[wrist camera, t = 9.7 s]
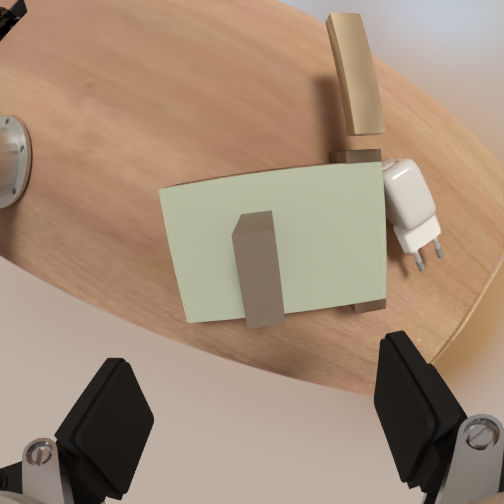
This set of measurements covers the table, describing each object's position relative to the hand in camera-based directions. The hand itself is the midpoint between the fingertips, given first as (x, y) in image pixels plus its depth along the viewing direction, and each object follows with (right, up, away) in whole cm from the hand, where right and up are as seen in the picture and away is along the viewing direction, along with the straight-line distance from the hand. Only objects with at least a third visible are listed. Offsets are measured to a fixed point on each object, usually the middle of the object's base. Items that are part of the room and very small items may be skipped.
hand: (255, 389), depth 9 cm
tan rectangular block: (+8, +18, +11) cm, 22 cm away
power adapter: (+15, +9, +20) cm, 27 cm away
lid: (+2, +5, +16) cm, 17 cm away
